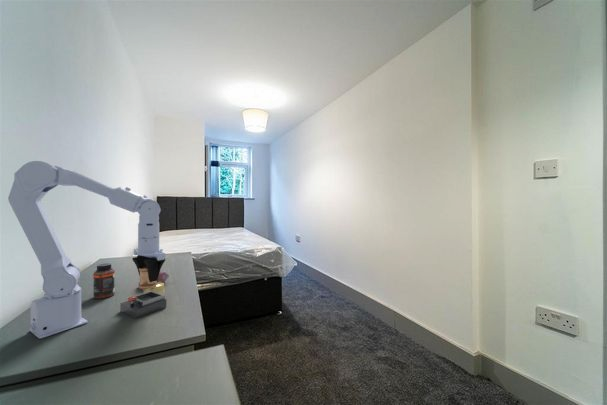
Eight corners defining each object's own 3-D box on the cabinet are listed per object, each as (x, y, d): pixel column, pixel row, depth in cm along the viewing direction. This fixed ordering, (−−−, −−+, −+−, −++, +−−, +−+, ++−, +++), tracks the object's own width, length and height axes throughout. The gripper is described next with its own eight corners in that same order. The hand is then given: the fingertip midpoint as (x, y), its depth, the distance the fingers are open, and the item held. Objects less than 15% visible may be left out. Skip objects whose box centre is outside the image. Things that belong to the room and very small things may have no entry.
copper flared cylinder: (145, 289, 74) (145, 269, 75) (135, 287, 77) (135, 268, 77) (160, 284, 79) (160, 266, 79) (151, 283, 81) (151, 264, 81)
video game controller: (141, 293, 94) (144, 278, 92) (136, 285, 96) (140, 271, 94) (167, 286, 102) (171, 272, 100) (163, 279, 104) (166, 266, 102)
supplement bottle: (119, 293, 90) (119, 262, 90) (104, 299, 84) (104, 266, 84) (104, 292, 90) (104, 262, 90) (88, 299, 84) (88, 266, 84)
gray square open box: (135, 318, 71) (135, 302, 71) (120, 311, 75) (120, 296, 75) (166, 307, 78) (166, 292, 78) (150, 301, 83) (150, 287, 83)
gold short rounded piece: (149, 301, 83) (149, 289, 83) (139, 297, 86) (139, 286, 86) (168, 295, 88) (168, 284, 88) (158, 291, 92) (158, 281, 92)
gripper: (174, 237, 78) (174, 280, 78) (149, 234, 85) (149, 272, 85) (151, 240, 72) (151, 286, 72) (126, 236, 79) (126, 278, 79)
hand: (148, 279), depth 78 cm, fingers closed on copper flared cylinder, 5 cm apart
